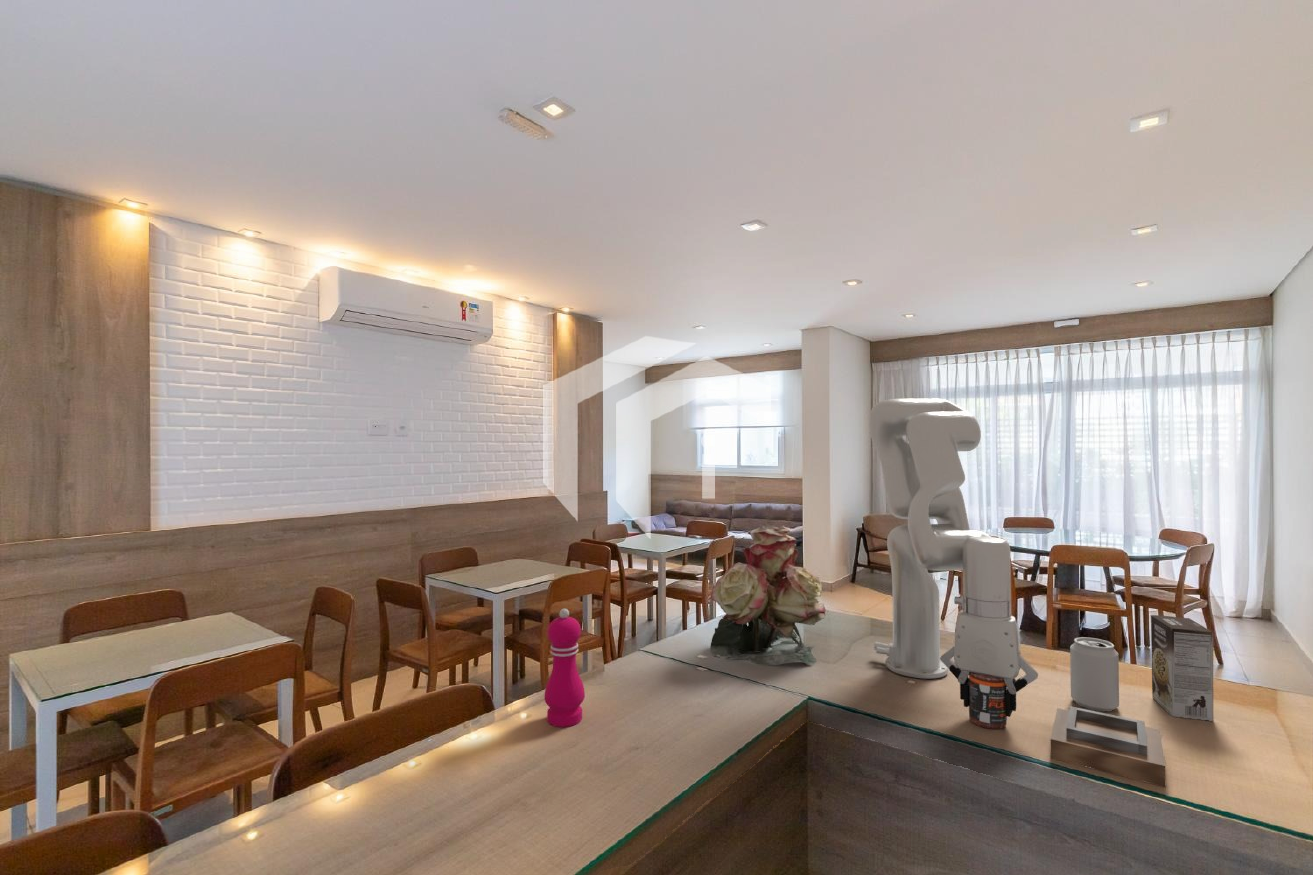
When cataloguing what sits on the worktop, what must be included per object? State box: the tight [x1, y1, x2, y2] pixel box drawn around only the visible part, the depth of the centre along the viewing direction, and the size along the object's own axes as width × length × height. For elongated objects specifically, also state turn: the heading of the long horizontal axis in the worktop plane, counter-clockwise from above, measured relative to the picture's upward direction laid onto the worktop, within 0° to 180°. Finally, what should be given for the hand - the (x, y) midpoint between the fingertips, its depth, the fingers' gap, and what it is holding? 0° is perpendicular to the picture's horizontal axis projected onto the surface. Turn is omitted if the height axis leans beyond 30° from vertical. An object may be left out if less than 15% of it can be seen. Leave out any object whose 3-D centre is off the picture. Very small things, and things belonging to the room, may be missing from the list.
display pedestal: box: [1050, 706, 1167, 788], centre depth 99 cm, size 14×14×4 cm
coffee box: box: [1150, 614, 1215, 722], centre depth 115 cm, size 9×6×16 cm
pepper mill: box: [544, 608, 586, 728], centre depth 112 cm, size 7×7×20 cm
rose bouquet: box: [709, 524, 826, 667], centre depth 150 cm, size 26×29×30 cm
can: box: [1069, 636, 1120, 713], centre depth 117 cm, size 8×8×12 cm
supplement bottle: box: [968, 672, 1008, 730], centre depth 110 cm, size 6×6×11 cm
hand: (987, 707), depth 110 cm, fingers closed on supplement bottle, 5 cm apart
